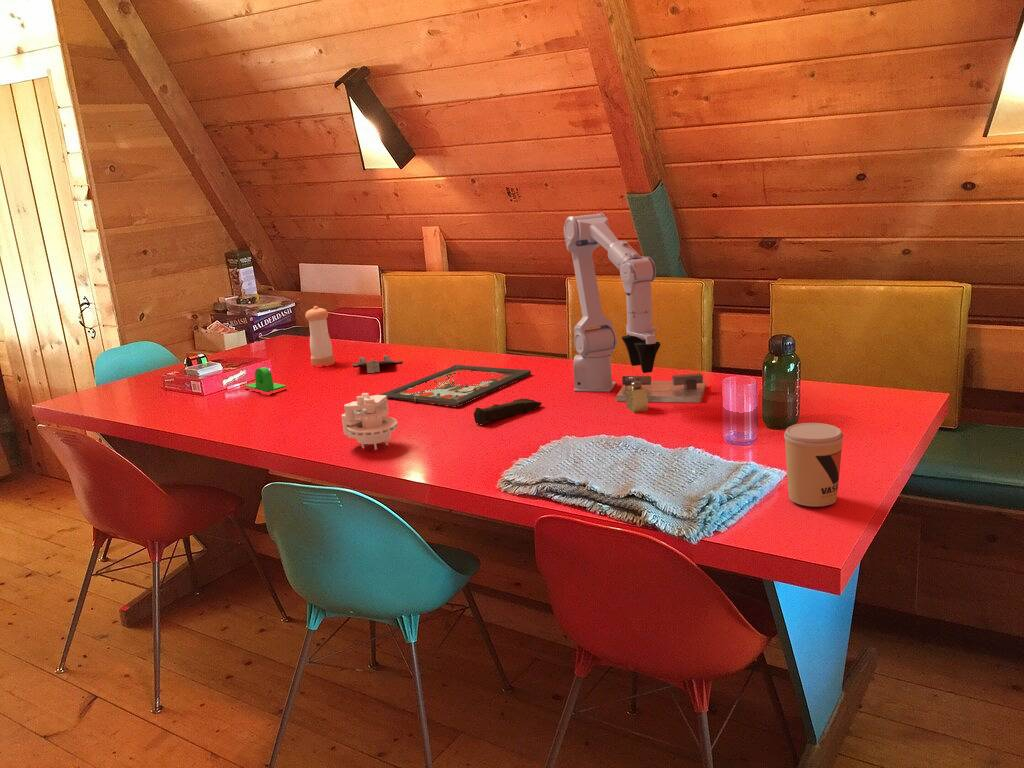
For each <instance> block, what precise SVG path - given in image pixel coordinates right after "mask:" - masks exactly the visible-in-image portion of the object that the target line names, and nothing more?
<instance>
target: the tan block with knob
mask: <svg viewBox="0 0 1024 768" xmlns="http://www.w3.org/2000/svg"><path fill="white" fill-rule="evenodd" d="M625 403H626V409H628V410H629V411H630V412H631V413H633V414H635V413H642V412H648V411H649V407H648V406H649V405H648V403H649V402H648V401H647V388H645V387H644V386H642V385H641V382H640V381H633V382H631V386H626V402H625Z"/></svg>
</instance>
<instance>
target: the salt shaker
mask: <svg viewBox="0 0 1024 768" xmlns="http://www.w3.org/2000/svg"><path fill="white" fill-rule="evenodd" d="M304 316H305V319H306V320H307V321H308V325H309V334H310V335H309V347H310V348H309V349H310V355H311V356H310V363H311V364H312V365H329V364H332V363H334V362H335V363H336V361H335V360H336V359H335V354H334V353H333V346H332V341H331V336H330V334H329V330H328V329H329V327H328V321H327V319H328V317H329V312H328V310H327V309H326V308H322V307H319V306H318V305H314V306H313V308H311V309H308V310H306V312H305V315H304ZM312 365H311V366H312Z"/></svg>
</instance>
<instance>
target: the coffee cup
mask: <svg viewBox="0 0 1024 768" xmlns="http://www.w3.org/2000/svg"><path fill="white" fill-rule="evenodd" d="M783 436H784V437H783V438H784V440H785V442H784V443H785V447H784V448H785V460H786V474H787V487H788V498H789V499H790V501H792V502H793V503H795V504H796V505H800V506H805V507H817V508H818V507H826V506H829V505H833V504H834V503H836V502H837V499H838V491H839V482H840V472H841V462H842V460H841V459H842V449H843V447H842V446H843V440H844V434H843V432H842V430H841V429H840V428H839V427H837V426H835V425H832V424H828V423H820V422H803V423H801V422H800V423H795V424H792V425H790V426H788V427H787V428H786V429H785V432H784V433H783Z"/></svg>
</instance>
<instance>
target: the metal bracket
mask: <svg viewBox="0 0 1024 768" xmlns="http://www.w3.org/2000/svg"><path fill="white" fill-rule="evenodd" d="M358 360H359V362H354V363H353V364H352V367H360V366H359V365H362V366H366V374H367V373H373V374H376V373H375V372H381V371H380V370H381V369H380V365H384V364H385V365H387V364H396V363H397V364H398V363H403V360H395V361H394V360H392V359H390V356H389V355H387V354H384V355H383V360H378V361H377V360H375V359H374V358H371V361H367V359H366V357H362V356H361V357H360V356H359V359H358ZM386 363H387V364H386Z"/></svg>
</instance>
